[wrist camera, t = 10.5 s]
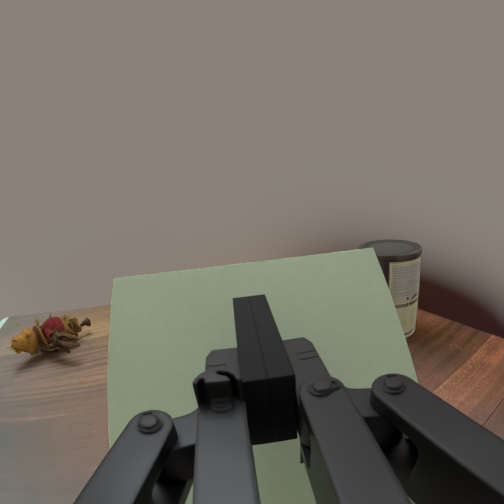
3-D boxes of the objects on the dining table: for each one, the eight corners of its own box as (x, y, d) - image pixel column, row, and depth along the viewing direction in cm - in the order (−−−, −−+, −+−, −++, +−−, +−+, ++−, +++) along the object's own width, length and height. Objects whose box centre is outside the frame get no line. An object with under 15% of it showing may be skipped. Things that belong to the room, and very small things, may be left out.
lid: (118, 284, 18) (113, 277, 18) (369, 254, 19) (373, 247, 18) (126, 531, 10) (120, 535, 9) (432, 485, 11) (439, 486, 10)
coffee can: (353, 340, 46) (354, 254, 43) (362, 313, 55) (362, 239, 52) (416, 343, 42) (424, 254, 38) (415, 315, 50) (419, 239, 47)
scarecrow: (31, 338, 54) (20, 305, 52) (94, 328, 59) (84, 293, 57) (7, 377, 38) (-10, 337, 36) (83, 368, 43) (68, 325, 41)
